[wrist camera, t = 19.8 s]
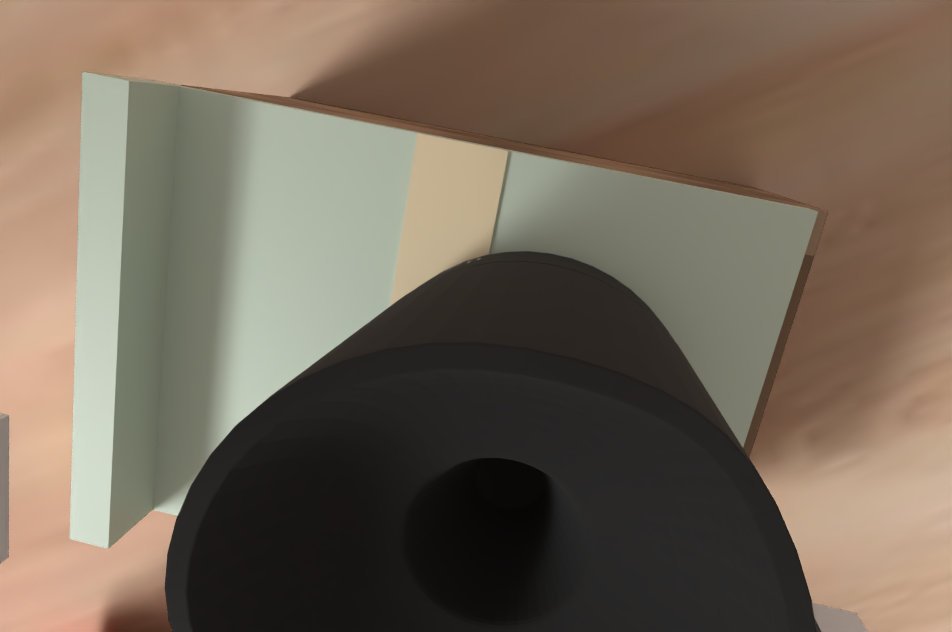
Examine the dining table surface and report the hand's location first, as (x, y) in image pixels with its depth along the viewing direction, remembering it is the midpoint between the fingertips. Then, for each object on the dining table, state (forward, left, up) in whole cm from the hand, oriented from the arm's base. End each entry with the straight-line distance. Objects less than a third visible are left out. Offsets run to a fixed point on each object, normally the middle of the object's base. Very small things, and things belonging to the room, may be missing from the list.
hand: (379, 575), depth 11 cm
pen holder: (+2, 0, -9) cm, 9 cm away
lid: (-1, 0, -10) cm, 10 cm away
